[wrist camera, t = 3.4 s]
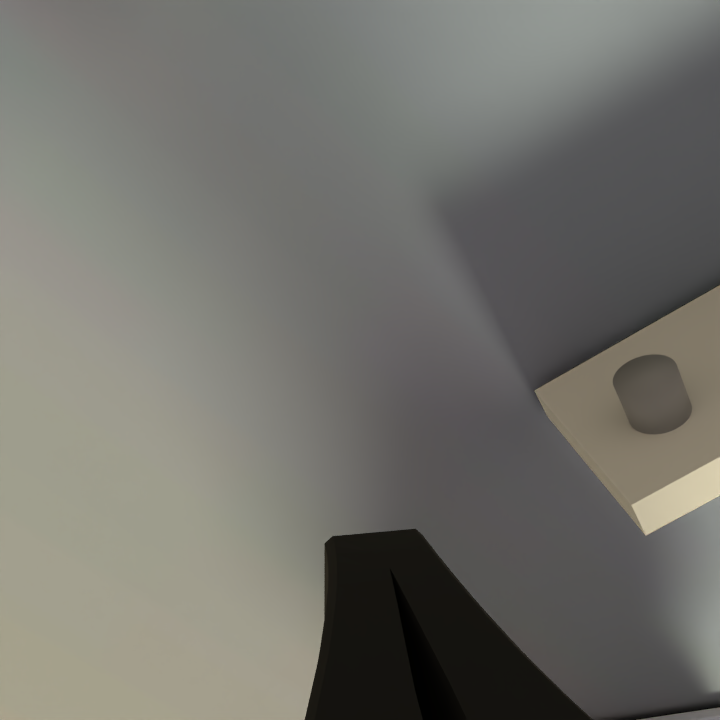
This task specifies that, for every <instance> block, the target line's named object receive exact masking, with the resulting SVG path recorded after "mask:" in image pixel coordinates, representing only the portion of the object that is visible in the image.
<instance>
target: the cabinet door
mask: <svg viewBox="0 0 720 720" xmlns="http://www.w3.org/2000/svg"><path fill="white" fill-rule="evenodd" d="M534 391H535V393H536V395H537V397H538V399H539V401H540V403H541V405H542V407H543V409H544V411H545V413H546V415H547V417H548V418H549V419H550V420H551V421H552V423H553V424H554V425H555V426H556V428H557V429H558V430H559V431H560V432H561V434H562V435H563V436H564V437H565V438H566V440H567V441H568V442H569V443H570V445H571V446H572V447H573V448H574V449H575V451H576V452H577V453H578V454H579V455H580V457H581V458H582V459H583V460H584V461H585V463H586V464H587V465H588V466H589V468H590V469H591V470H592V471H593V472H594V474H595V475H596V476H597V477H598V478H599V480H600V481H601V482H602V483H603V485H604V486H605V487H606V488H607V489H608V491H609V492H610V493H611V494H612V495H613V497H614V498H615V499H616V500H617V501H618V503H619V504H620V505H621V506H622V508H623V509H624V510H625V511H626V512H627V514H628V515H629V516H630V517H631V518H632V520H633V521H634V522H635V523H636V525H637V526H638V527H639V528H640V529H641V531H642V532H643V533H644V534H645V535H648V534H650V533H651V532H653V531H655V530H657V529H659V528H661V527H663V526H664V525H666V524H668V523H670V522H672V521H674V520H676V519H677V518H679V517H681V516H683V515H685V514H687V513H688V512H690V511H692V510H694V509H696V508H698V507H700V506H701V505H703V504H705V503H707V502H709V501H711V500H713V499H714V498H716V497H718V496H720V285H719V286H717V287H716V288H714V289H712V290H710V291H709V292H707V293H705V294H703V295H701V296H700V297H698V298H696V299H694V300H693V301H691V302H689V303H687V304H686V305H684V306H682V307H680V308H679V309H677V310H675V311H673V312H672V313H670V314H668V315H666V316H665V317H663V318H661V319H659V320H657V321H656V322H654V323H652V324H650V325H649V326H647V327H645V328H643V329H642V330H640V331H638V332H636V333H635V334H633V335H631V336H629V337H628V338H626V339H624V340H622V341H621V342H619V343H617V344H615V345H613V346H612V347H610V348H608V349H606V350H605V351H603V352H601V353H599V354H598V355H596V356H594V357H592V358H591V359H589V360H587V361H585V362H584V363H582V364H580V365H578V366H577V367H575V368H573V369H571V370H569V371H568V372H566V373H564V374H562V375H561V376H559V377H557V378H555V379H554V380H552V381H550V382H548V383H547V384H545V385H543V386H541V387H540V388H538V389H536V390H534Z"/></svg>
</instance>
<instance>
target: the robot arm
mask: <svg viewBox="0 0 720 720" xmlns="http://www.w3.org/2000/svg"><path fill="white" fill-rule="evenodd" d="M305 720H593V719H591V718H590V717H589V716H588V715H587V714H586V713H585V712H584V711H583V710H581V709H580V708H579V707H578V706H577V705H576V704H575V703H574V702H573V701H572V700H571V699H570V698H569V697H568V696H567V695H566V694H564V693H563V692H562V691H561V690H560V689H559V688H558V687H557V686H556V685H555V684H554V683H553V682H552V681H551V680H550V679H549V678H548V677H547V676H546V675H545V674H544V673H543V672H542V671H541V670H540V669H539V668H538V667H537V666H536V665H535V664H534V663H533V662H532V661H531V660H530V659H529V658H528V657H527V656H526V655H525V654H524V653H523V652H522V651H521V650H520V649H519V648H518V646H517V645H516V644H515V643H514V642H513V641H512V640H511V639H510V638H509V637H508V636H507V635H506V634H505V632H504V631H503V630H502V629H501V628H500V627H499V626H498V625H497V624H496V623H495V622H494V620H493V619H492V618H491V617H490V616H489V615H488V614H487V613H486V612H485V611H484V609H483V608H482V607H481V606H480V605H479V604H478V603H477V601H476V600H475V599H474V598H473V597H472V596H471V595H470V593H469V592H468V591H467V590H466V589H465V587H464V586H463V585H462V584H461V583H460V581H459V580H458V579H457V578H456V577H455V576H454V574H453V573H452V572H451V571H450V569H449V568H448V567H447V566H446V564H445V563H444V562H443V561H442V559H441V558H440V557H439V556H438V554H437V553H436V552H435V551H434V549H433V548H432V547H431V546H430V544H429V543H428V542H427V540H426V539H425V538H424V536H423V535H422V534H421V533H420V532H418V531H417V530H416V529H409V530H398V531H387V532H376V533H365V534H353V535H342V536H333V537H331V538H330V539H329V540H328V541H327V542H326V543H325V621H324V627H323V634H322V640H321V647H320V653H319V659H318V664H317V669H316V673H315V678H314V682H313V686H312V691H311V695H310V699H309V704H308V708H307V712H306V717H305ZM638 720H720V707H718V708H711V709H705V710H698V711H691V712H685V713H678V714H671V715H665V716H658V717H652V718H645V719H638Z"/></svg>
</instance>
